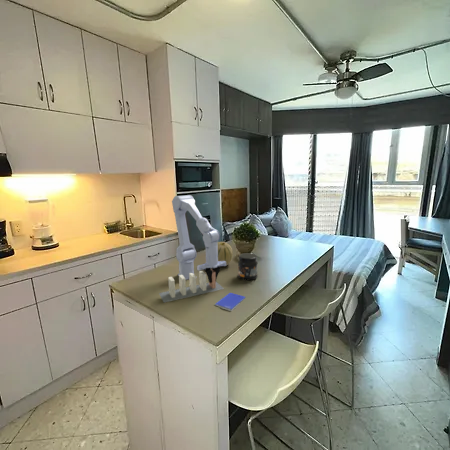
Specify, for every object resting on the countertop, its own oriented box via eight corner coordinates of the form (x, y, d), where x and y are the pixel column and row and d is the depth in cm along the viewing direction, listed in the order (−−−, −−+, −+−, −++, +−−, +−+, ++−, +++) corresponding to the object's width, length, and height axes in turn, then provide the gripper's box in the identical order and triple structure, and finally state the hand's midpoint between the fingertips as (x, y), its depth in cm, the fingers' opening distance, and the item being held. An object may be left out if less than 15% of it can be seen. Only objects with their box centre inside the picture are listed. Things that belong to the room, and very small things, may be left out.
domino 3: (189, 289, 121) (189, 273, 119) (192, 288, 121) (192, 272, 120) (193, 293, 116) (192, 277, 115) (196, 292, 117) (195, 276, 115)
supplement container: (234, 274, 138) (234, 254, 136) (252, 272, 142) (252, 251, 140) (242, 282, 129) (242, 259, 126) (261, 279, 132) (261, 257, 130)
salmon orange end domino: (208, 284, 125) (208, 269, 124) (211, 284, 126) (211, 268, 125) (212, 288, 121) (212, 272, 119) (215, 287, 122) (215, 272, 120)
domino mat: (158, 293, 117) (158, 293, 117) (215, 281, 129) (215, 281, 129) (163, 303, 108) (163, 302, 108) (224, 289, 121) (224, 288, 121)
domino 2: (179, 291, 119) (178, 275, 117) (182, 290, 119) (182, 274, 118) (182, 295, 114) (182, 279, 113) (186, 294, 115) (185, 278, 113)
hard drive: (231, 309, 101) (245, 296, 111) (214, 303, 105) (229, 292, 116) (231, 312, 101) (245, 299, 112) (214, 307, 106) (229, 295, 116)
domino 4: (199, 286, 123) (199, 271, 121) (202, 286, 124) (202, 270, 122) (203, 291, 118) (202, 275, 117) (206, 290, 119) (206, 274, 118)
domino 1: (169, 293, 116) (168, 277, 115) (172, 292, 117) (171, 276, 116) (171, 297, 112) (170, 281, 110) (175, 297, 113) (174, 280, 111)
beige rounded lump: (217, 259, 163) (217, 237, 161) (237, 263, 156) (237, 240, 153) (204, 267, 151) (203, 242, 148) (225, 271, 144) (224, 246, 141)
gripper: (200, 259, 113) (201, 287, 116) (229, 255, 120) (229, 281, 122) (195, 255, 120) (196, 282, 122) (222, 251, 126) (223, 276, 129)
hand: (212, 281), depth 123 cm, fingers closed on salmon orange end domino, 2 cm apart
